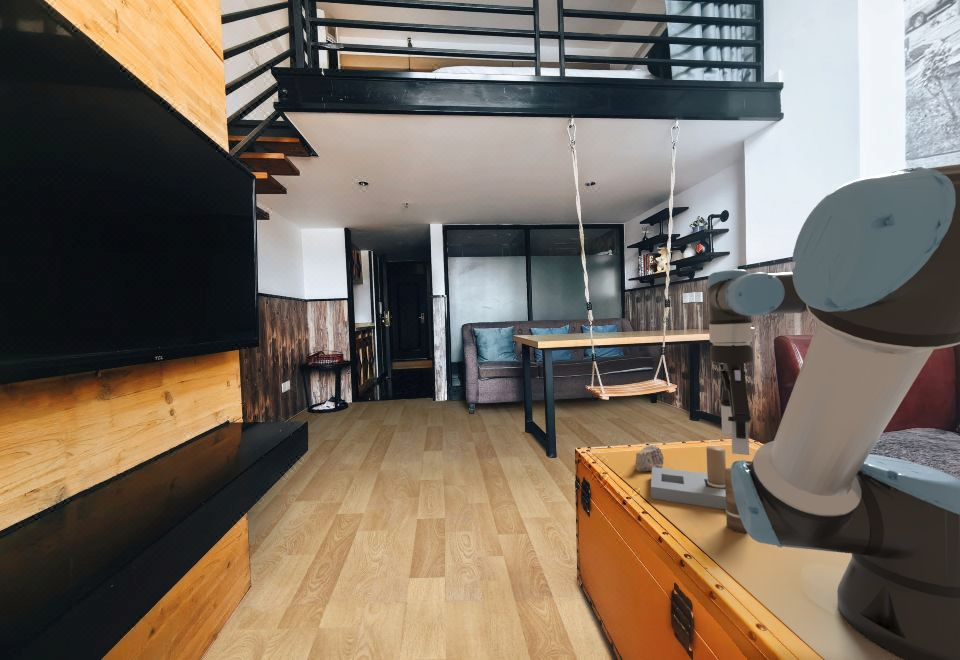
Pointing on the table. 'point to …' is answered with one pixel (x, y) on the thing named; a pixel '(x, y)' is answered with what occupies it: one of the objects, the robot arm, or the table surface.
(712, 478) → the board
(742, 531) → the dowel
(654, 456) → the mineral specimen
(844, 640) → the table surface
